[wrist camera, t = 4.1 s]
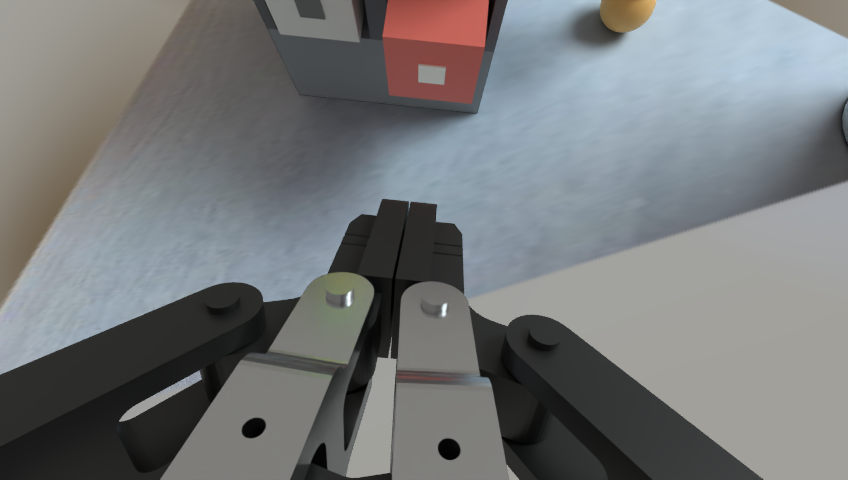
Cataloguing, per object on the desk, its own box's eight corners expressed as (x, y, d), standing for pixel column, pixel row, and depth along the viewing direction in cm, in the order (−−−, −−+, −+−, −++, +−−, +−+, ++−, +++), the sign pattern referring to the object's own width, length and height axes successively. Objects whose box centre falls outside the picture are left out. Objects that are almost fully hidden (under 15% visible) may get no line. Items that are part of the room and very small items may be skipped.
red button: (479, 16, 25) (493, -57, 21) (471, 105, 24) (484, 49, 19) (401, 8, 25) (398, -66, 21) (388, 96, 24) (382, 38, 19)
